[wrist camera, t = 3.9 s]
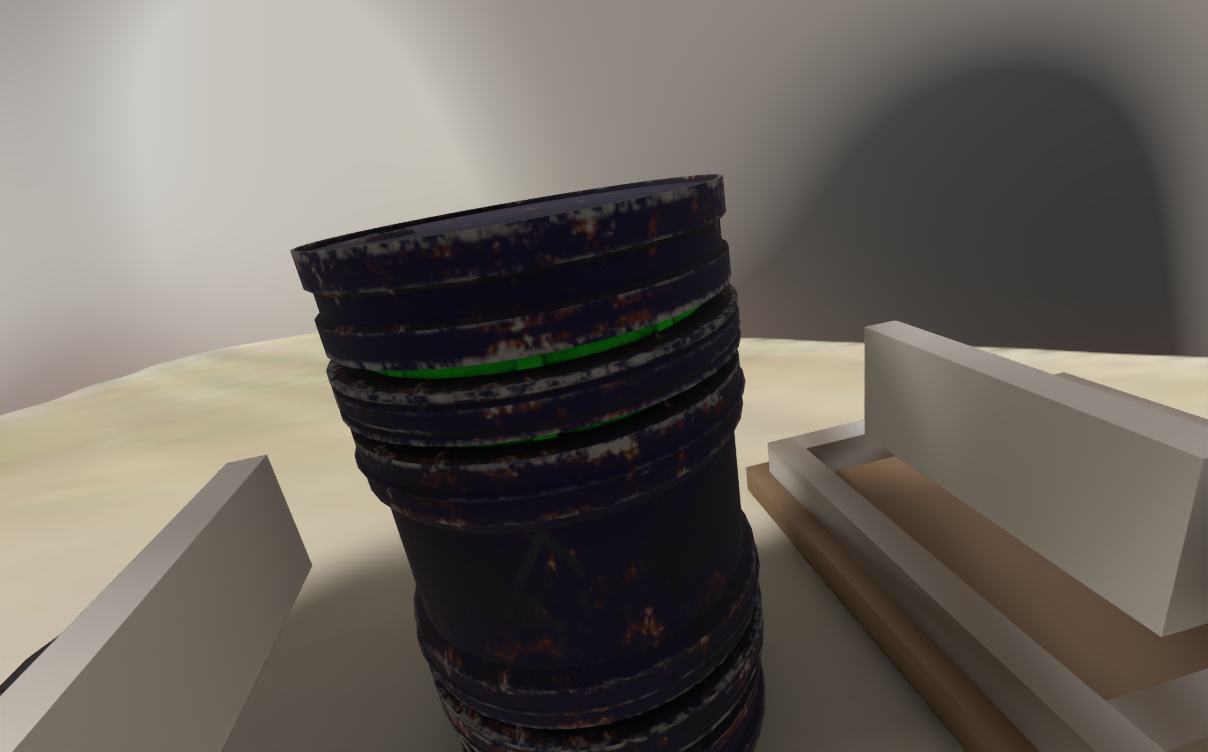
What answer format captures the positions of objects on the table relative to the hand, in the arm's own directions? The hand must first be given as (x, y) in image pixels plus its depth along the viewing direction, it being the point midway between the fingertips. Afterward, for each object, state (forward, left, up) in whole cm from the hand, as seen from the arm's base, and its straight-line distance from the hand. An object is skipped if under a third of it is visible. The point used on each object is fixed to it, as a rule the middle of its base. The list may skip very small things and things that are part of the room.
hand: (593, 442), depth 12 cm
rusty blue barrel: (-1, +3, -10) cm, 10 cm away
